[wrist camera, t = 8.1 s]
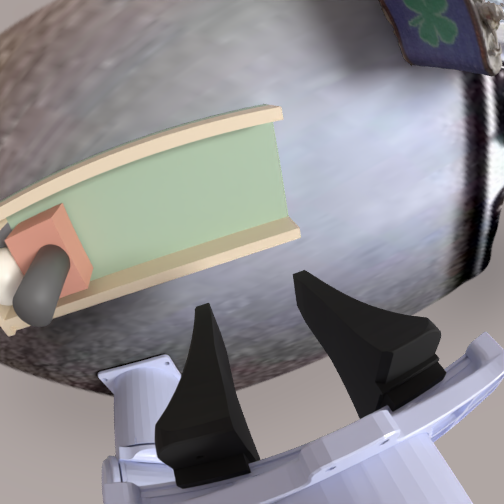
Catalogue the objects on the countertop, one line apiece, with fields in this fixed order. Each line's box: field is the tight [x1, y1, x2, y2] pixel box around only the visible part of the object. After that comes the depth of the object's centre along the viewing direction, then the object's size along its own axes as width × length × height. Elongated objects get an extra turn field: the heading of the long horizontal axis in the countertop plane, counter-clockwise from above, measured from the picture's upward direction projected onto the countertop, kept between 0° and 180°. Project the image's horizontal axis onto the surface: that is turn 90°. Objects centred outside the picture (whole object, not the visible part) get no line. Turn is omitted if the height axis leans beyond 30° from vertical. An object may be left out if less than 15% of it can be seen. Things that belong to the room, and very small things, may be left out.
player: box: [4, 203, 93, 327], centre depth 15 cm, size 5×4×7 cm
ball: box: [0, 247, 24, 306], centre depth 16 cm, size 4×4×4 cm
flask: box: [379, 0, 504, 76], centre depth 12 cm, size 9×3×11 cm, turn 30°
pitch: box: [0, 104, 301, 337], centre depth 18 cm, size 9×24×4 cm, turn 101°
